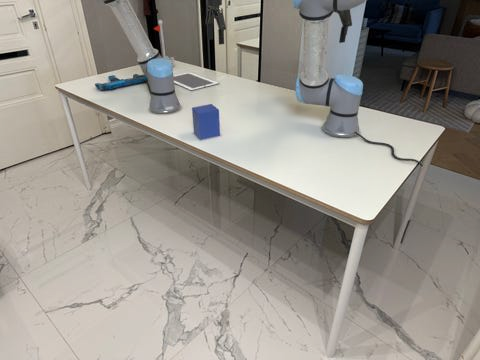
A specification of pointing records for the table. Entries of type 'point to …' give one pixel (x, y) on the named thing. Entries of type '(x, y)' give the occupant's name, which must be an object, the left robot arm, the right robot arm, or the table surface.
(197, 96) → the table surface
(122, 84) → the submachine gun
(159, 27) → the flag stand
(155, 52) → the left robot arm
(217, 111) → the block
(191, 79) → the tablet
